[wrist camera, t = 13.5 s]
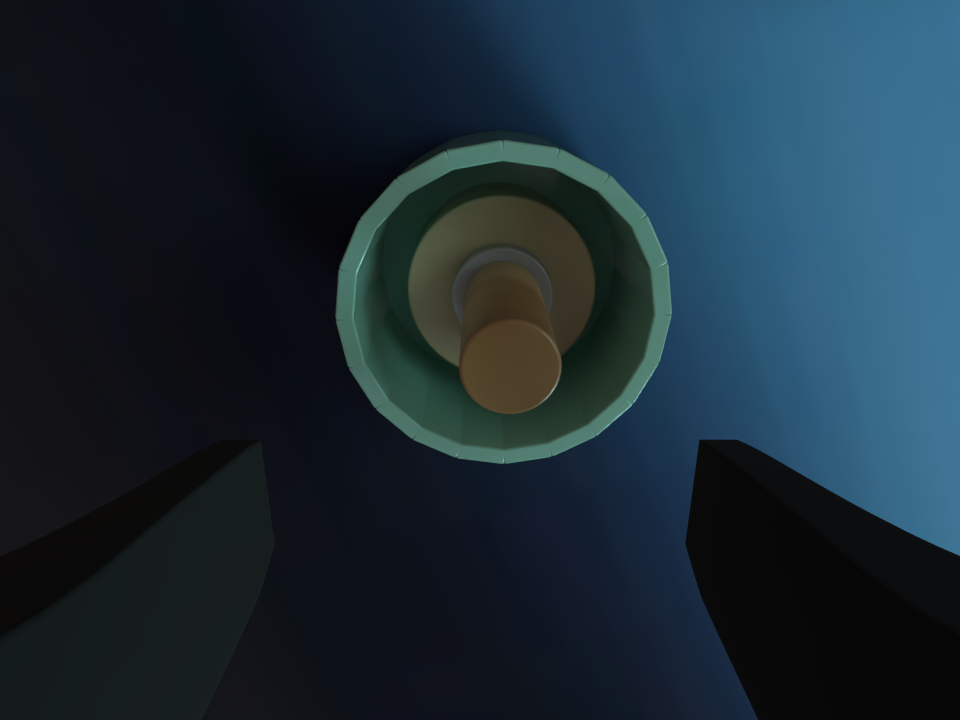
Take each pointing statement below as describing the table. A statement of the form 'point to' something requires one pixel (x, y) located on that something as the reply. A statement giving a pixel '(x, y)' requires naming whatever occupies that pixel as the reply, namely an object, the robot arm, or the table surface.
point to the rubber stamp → (502, 292)
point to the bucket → (436, 382)
